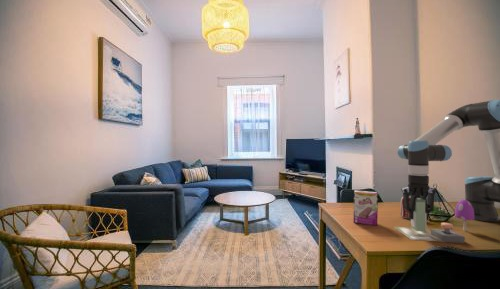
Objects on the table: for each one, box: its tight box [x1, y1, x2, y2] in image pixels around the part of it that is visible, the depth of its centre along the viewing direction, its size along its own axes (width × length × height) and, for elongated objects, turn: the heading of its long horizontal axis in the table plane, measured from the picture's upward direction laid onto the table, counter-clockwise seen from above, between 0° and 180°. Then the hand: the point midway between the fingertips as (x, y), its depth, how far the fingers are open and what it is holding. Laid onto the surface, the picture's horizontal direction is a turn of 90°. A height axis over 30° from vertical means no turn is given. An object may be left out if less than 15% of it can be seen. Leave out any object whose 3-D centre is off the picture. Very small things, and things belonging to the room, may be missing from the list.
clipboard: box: [392, 226, 459, 244], centre depth 104 cm, size 20×16×1 cm
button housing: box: [430, 228, 466, 244], centre depth 99 cm, size 8×8×2 cm
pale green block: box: [411, 197, 426, 231], centre depth 104 cm, size 4×4×14 cm
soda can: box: [400, 195, 411, 220], centre depth 129 cm, size 7×7×12 cm
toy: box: [454, 199, 475, 232], centre depth 108 cm, size 7×7×15 cm
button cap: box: [440, 222, 454, 234], centre depth 99 cm, size 4×4×4 cm
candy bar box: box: [353, 189, 379, 227], centre depth 120 cm, size 11×5×16 cm, turn 65°
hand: (418, 226), depth 104 cm, fingers closed on pale green block, 4 cm apart
